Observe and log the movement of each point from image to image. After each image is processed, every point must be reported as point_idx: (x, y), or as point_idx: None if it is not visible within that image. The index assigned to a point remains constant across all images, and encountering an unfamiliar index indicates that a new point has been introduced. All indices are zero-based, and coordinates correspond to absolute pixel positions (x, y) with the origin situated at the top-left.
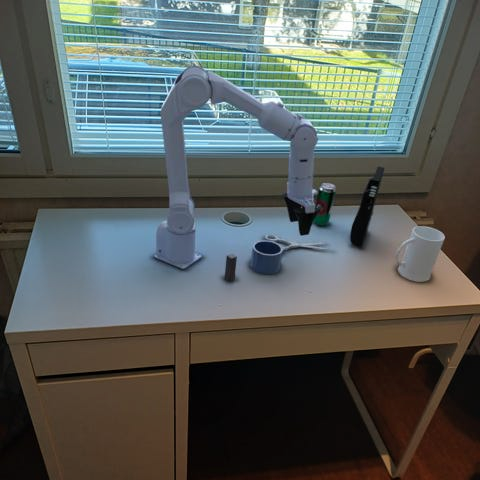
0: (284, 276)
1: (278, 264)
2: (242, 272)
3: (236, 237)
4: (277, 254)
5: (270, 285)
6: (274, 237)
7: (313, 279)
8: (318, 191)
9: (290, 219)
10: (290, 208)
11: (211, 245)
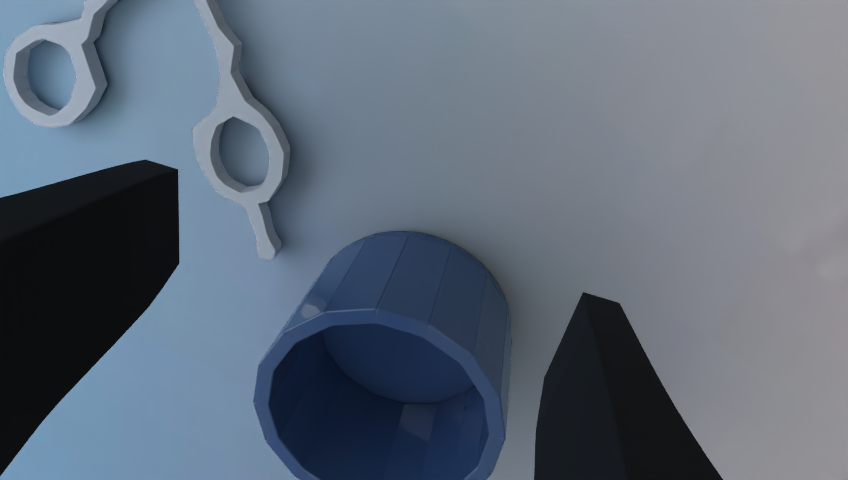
0: (573, 277)
1: (500, 326)
2: None
3: None
4: (501, 415)
5: None
6: (38, 41)
7: (720, 95)
8: None
9: (155, 293)
10: (20, 410)
11: (108, 456)
